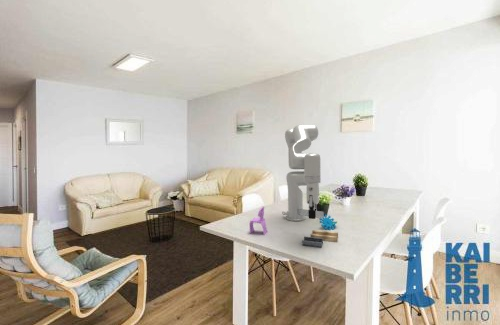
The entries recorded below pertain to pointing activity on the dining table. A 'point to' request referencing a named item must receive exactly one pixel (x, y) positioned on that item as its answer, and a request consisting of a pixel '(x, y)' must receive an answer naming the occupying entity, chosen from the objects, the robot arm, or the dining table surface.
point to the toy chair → (259, 221)
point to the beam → (325, 235)
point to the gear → (328, 222)
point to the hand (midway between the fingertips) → (312, 217)
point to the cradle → (312, 242)
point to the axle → (306, 213)
